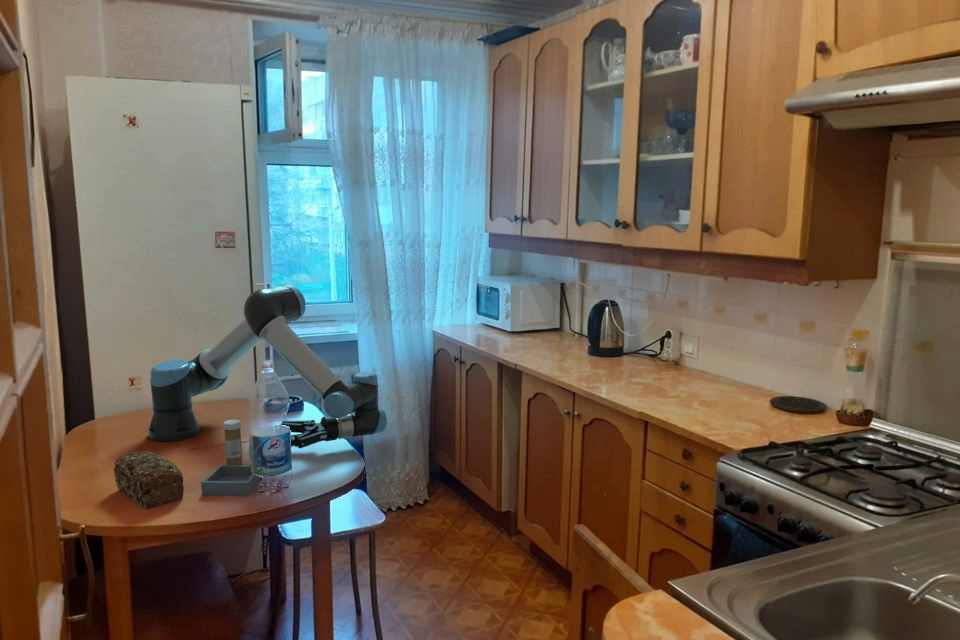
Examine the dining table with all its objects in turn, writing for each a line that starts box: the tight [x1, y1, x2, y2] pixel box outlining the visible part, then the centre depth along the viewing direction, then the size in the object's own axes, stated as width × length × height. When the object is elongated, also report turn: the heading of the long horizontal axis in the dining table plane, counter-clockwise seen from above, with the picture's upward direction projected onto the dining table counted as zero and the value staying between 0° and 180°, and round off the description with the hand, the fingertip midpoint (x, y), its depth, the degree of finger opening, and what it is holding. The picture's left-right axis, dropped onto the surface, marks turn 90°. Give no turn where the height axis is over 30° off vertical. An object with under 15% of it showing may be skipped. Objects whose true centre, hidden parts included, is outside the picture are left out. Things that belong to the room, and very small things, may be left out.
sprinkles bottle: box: [223, 419, 244, 465], centre depth 198 cm, size 5×5×13 cm
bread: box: [113, 450, 185, 509], centre depth 180 cm, size 19×11×10 cm, turn 47°
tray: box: [200, 464, 263, 497], centre depth 185 cm, size 12×12×4 cm
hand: (264, 438), depth 203 cm, fingers open, 13 cm apart
